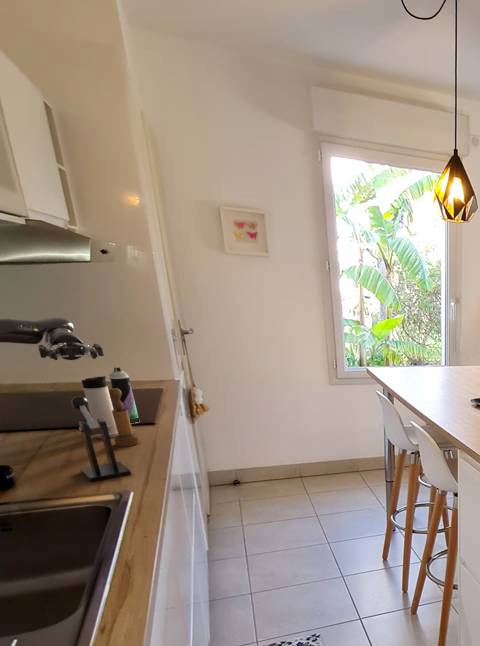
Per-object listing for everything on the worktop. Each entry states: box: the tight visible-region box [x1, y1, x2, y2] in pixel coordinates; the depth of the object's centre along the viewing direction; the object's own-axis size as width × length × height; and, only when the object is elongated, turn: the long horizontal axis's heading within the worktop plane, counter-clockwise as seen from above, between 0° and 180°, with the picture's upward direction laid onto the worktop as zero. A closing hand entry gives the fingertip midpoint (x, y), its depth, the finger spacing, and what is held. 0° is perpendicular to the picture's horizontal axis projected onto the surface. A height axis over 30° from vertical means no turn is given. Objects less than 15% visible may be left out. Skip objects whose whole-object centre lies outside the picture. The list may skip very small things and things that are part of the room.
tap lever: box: [70, 395, 101, 436], centre depth 149 cm, size 14×4×4 cm, turn 50°
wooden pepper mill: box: [109, 388, 141, 448], centre depth 174 cm, size 7×6×18 cm
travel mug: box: [80, 375, 118, 440], centre depth 180 cm, size 6×7×20 cm
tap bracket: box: [78, 419, 132, 483], centre depth 149 cm, size 11×9×15 cm
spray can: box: [109, 367, 139, 425], centre depth 197 cm, size 6×6×20 cm
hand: (75, 355), depth 155 cm, fingers open, 8 cm apart
